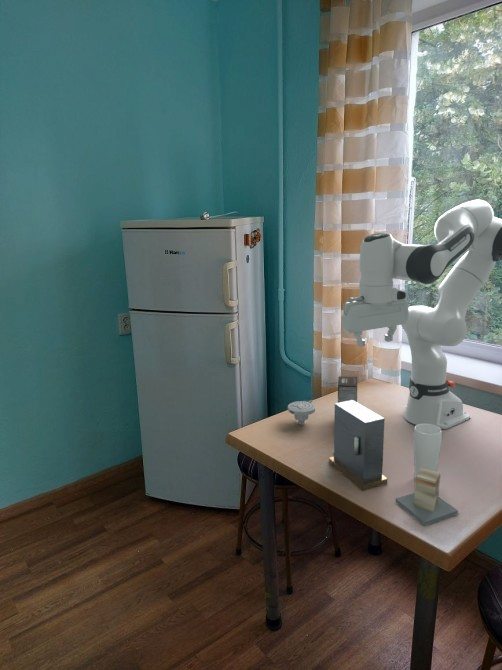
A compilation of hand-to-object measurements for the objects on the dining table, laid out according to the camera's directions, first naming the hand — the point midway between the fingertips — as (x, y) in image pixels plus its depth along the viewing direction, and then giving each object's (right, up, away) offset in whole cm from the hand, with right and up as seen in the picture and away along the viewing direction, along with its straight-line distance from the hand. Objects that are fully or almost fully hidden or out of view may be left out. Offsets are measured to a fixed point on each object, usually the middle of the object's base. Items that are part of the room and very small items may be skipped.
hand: (374, 343), depth 128 cm
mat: (+8, -40, -17) cm, 44 cm away
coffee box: (-2, -29, +29) cm, 41 cm away
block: (+8, -39, -17) cm, 43 cm away
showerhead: (-17, -28, +31) cm, 46 cm away
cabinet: (-5, -36, -1) cm, 36 cm away
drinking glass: (+12, -37, -5) cm, 39 cm away
